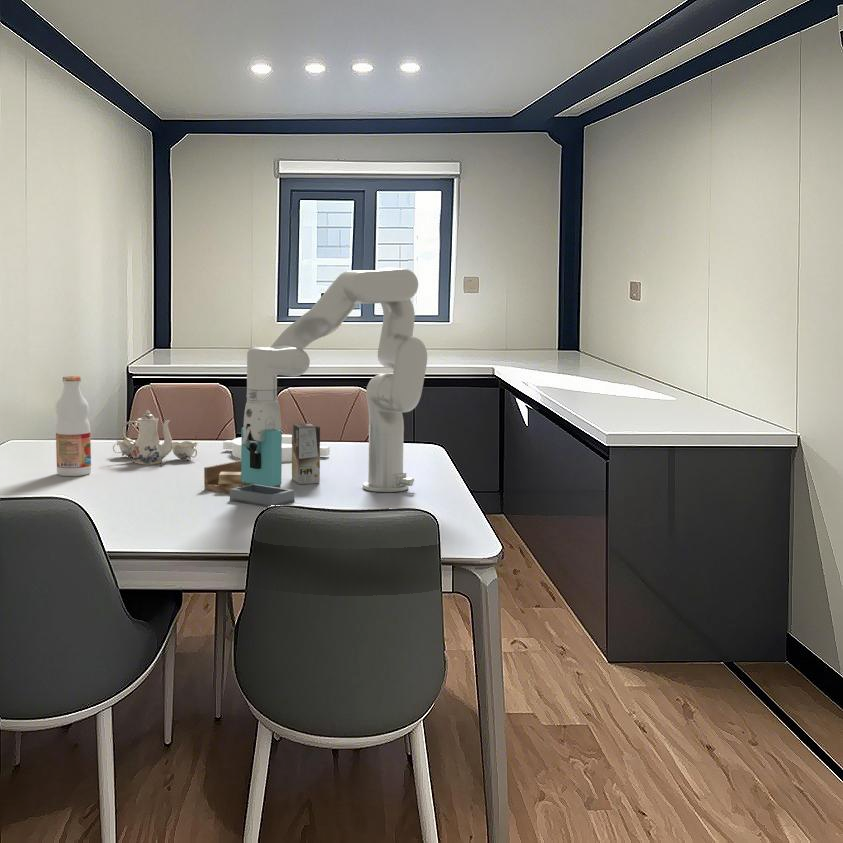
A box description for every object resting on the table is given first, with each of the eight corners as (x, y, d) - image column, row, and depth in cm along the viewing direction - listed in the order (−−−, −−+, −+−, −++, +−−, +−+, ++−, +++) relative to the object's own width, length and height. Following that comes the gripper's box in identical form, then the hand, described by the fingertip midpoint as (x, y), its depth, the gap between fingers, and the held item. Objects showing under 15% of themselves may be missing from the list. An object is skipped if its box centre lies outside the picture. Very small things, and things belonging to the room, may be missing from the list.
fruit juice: (53, 472, 306) (50, 375, 302) (85, 469, 311) (83, 374, 308) (61, 478, 298) (59, 378, 295) (95, 475, 304) (93, 377, 300)
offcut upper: (247, 481, 288) (247, 472, 287) (245, 484, 284) (245, 474, 283) (221, 480, 287) (221, 471, 287) (218, 483, 284) (218, 474, 283)
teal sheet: (281, 484, 271) (281, 430, 270) (271, 486, 268) (271, 431, 266) (251, 479, 277) (251, 426, 275) (241, 481, 273) (241, 428, 271)
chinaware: (204, 462, 336) (205, 410, 336) (188, 466, 320) (189, 411, 319) (117, 460, 338) (118, 407, 338) (98, 463, 322) (99, 408, 321)
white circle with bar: (333, 459, 340) (333, 444, 339) (250, 465, 326) (250, 450, 325) (298, 446, 364) (298, 432, 363) (220, 451, 350) (220, 437, 349)
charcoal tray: (294, 501, 273) (294, 490, 273) (271, 507, 266) (271, 495, 265) (253, 494, 280) (253, 483, 280) (229, 500, 273) (229, 489, 272)
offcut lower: (248, 491, 286) (248, 482, 286) (239, 494, 283) (239, 485, 282) (227, 489, 289) (227, 480, 289) (218, 491, 286) (218, 482, 285)
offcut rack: (280, 486, 291) (280, 465, 291) (243, 495, 279) (243, 473, 278) (241, 481, 299) (241, 460, 298) (204, 489, 286) (204, 467, 285)
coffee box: (320, 483, 298) (321, 426, 295) (298, 484, 295) (298, 427, 293) (312, 477, 306) (312, 422, 304) (290, 478, 304) (290, 423, 302)
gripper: (251, 399, 260) (250, 473, 263) (294, 394, 274) (293, 464, 277) (228, 397, 264) (228, 469, 267) (271, 392, 278) (271, 461, 281)
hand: (261, 466), depth 272 cm, fingers closed on teal sheet, 4 cm apart
